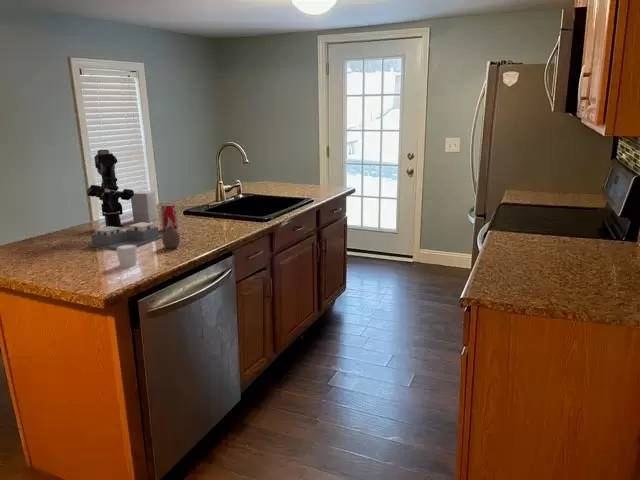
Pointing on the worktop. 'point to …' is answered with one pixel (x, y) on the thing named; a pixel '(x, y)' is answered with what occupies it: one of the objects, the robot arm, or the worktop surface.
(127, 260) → the shot glass
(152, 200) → the supplement box
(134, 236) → the board
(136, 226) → the cream block with holes
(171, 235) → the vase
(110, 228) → the grey-green block
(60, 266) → the worktop surface
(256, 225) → the worktop surface
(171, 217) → the soda can
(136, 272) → the worktop surface
